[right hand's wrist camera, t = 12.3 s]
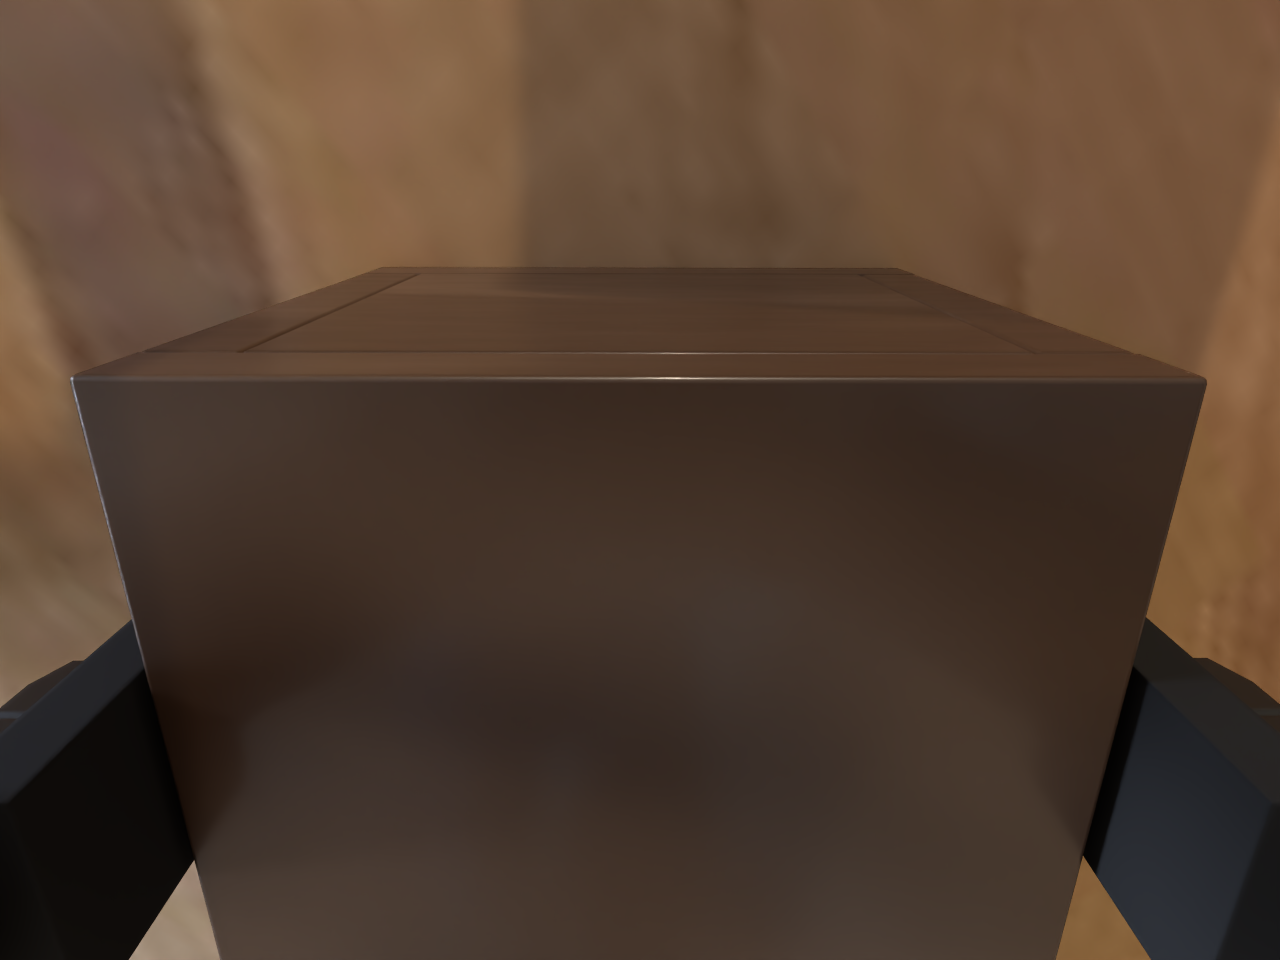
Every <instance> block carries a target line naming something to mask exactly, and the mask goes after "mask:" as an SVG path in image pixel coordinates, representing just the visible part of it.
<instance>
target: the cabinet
mask: <svg viewBox="0 0 1280 960" xmlns="http://www.w3.org/2000/svg"><path fill="white" fill-rule="evenodd" d="M70 384H71V388H72V391H73V395H74V399H75V403H76V407H77V411H78V414H79V418H80V422H81V426H82V430H83V434H84V438H85V441H86V445H87V449H88V453H89V457H90V461H91V464H92V468H93V472H94V476H95V480H96V484H97V487H98V491H99V495H100V499H101V503H102V507H103V510H104V514H105V518H106V522H107V526H108V530H109V534H110V537H111V541H112V545H113V549H114V553H115V557H116V560H117V564H118V568H119V572H120V576H121V580H122V583H123V587H124V591H125V595H126V599H127V603H128V607H129V610H130V614H131V618H132V622H133V626H134V630H135V633H136V637H137V641H138V645H139V649H140V653H141V656H142V660H143V664H144V668H145V672H146V676H147V680H148V683H149V687H150V691H151V695H152V699H153V703H154V706H155V710H156V714H157V718H158V722H159V726H160V729H161V733H162V737H163V741H164V745H165V749H166V753H167V756H168V760H169V764H170V768H171V772H172V776H173V779H174V783H175V787H176V791H177V795H178V799H179V802H180V806H181V810H182V814H183V818H184V822H185V825H186V829H187V833H188V837H189V841H190V845H191V849H192V852H193V856H194V860H195V864H196V868H197V872H198V875H199V879H200V883H201V887H202V891H203V895H204V898H205V902H206V906H207V910H208V914H209V918H210V922H211V925H212V929H213V933H214V937H215V941H216V945H217V948H218V952H219V956H220V960H1056V956H1057V952H1058V948H1059V944H1060V941H1061V937H1062V933H1063V929H1064V925H1065V922H1066V918H1067V914H1068V910H1069V906H1070V903H1071V899H1072V895H1073V891H1074V887H1075V884H1076V880H1077V876H1078V872H1079V868H1080V865H1081V861H1082V857H1083V853H1084V849H1085V846H1086V842H1087V838H1088V834H1089V830H1090V827H1091V823H1092V819H1093V815H1094V811H1095V808H1096V804H1097V800H1098V796H1099V792H1100V789H1101V785H1102V781H1103V777H1104V773H1105V770H1106V766H1107V762H1108V758H1109V754H1110V751H1111V747H1112V743H1113V739H1114V735H1115V732H1116V728H1117V724H1118V720H1119V716H1120V713H1121V709H1122V705H1123V701H1124V697H1125V694H1126V690H1127V686H1128V682H1129V678H1130V675H1131V671H1132V667H1133V663H1134V659H1135V656H1136V652H1137V648H1138V644H1139V640H1140V637H1141V633H1142V629H1143V625H1144V621H1145V618H1146V614H1147V610H1148V606H1149V602H1150V599H1151V595H1152V591H1153V587H1154V583H1155V580H1156V576H1157V572H1158V568H1159V564H1160V561H1161V557H1162V553H1163V549H1164V545H1165V542H1166V538H1167V534H1168V530H1169V526H1170V523H1171V519H1172V515H1173V511H1174V507H1175V504H1176V500H1177V496H1178V492H1179V488H1180V485H1181V481H1182V477H1183V473H1184V469H1185V466H1186V462H1187V458H1188V454H1189V450H1190V447H1191V443H1192V439H1193V435H1194V431H1195V428H1196V424H1197V420H1198V416H1199V412H1200V409H1201V405H1202V401H1203V397H1204V393H1205V390H1206V386H1207V381H1206V379H1205V378H1204V377H1201V376H1199V375H1196V374H1193V373H1190V372H1188V371H1185V370H1182V369H1179V368H1176V367H1173V366H1171V365H1168V364H1165V363H1162V362H1159V361H1157V360H1154V359H1151V358H1148V357H1145V356H1142V355H1140V354H1133V353H1131V352H1128V351H1126V350H1123V349H1120V348H1117V347H1115V346H1112V345H1109V344H1106V343H1103V342H1101V341H1098V340H1095V339H1092V338H1089V337H1087V336H1084V335H1081V334H1078V333H1075V332H1073V331H1070V330H1067V329H1064V328H1061V327H1058V326H1056V325H1053V324H1050V323H1047V322H1044V321H1042V320H1039V319H1036V318H1033V317H1030V316H1028V315H1025V314H1022V313H1019V312H1016V311H1014V310H1011V309H1008V308H1005V307H1002V306H1000V305H997V304H994V303H991V302H988V301H986V300H983V299H980V298H977V297H974V296H971V295H969V294H966V293H963V292H960V291H957V290H955V289H952V288H949V287H946V286H943V285H941V284H938V283H935V282H932V281H929V280H927V279H924V278H921V277H918V276H915V275H914V274H912V273H909V272H906V271H903V270H900V269H897V268H440V267H381V268H379V269H376V270H373V271H370V272H367V273H365V274H362V275H359V276H356V277H354V278H351V279H348V280H345V281H342V282H339V283H336V284H334V285H331V286H328V287H325V288H322V289H319V290H316V291H314V292H311V293H308V294H305V295H302V296H299V297H296V298H293V299H291V300H288V301H285V302H282V303H279V304H276V305H273V306H271V307H268V308H265V309H262V310H259V311H256V312H253V313H250V314H248V315H245V316H242V317H239V318H236V319H233V320H230V321H228V322H225V323H222V324H219V325H216V326H213V327H210V328H207V329H205V330H202V331H199V332H196V333H193V334H190V335H187V336H185V337H182V338H179V339H176V340H173V341H170V342H167V343H164V344H162V345H159V346H156V347H153V348H150V349H147V350H145V351H143V352H138V353H135V354H132V355H129V356H126V357H123V358H121V359H118V360H115V361H112V362H109V363H106V364H103V365H101V366H98V367H95V368H92V369H89V370H86V371H83V372H80V373H78V374H75V375H73V376H72V377H71V379H70Z"/></svg>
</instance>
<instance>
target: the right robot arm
mask: <svg viewBox="0 0 1280 960" xmlns="http://www.w3.org/2000/svg"><path fill="white" fill-rule="evenodd" d="M1083 856H1084V858H1085V859H1086V861H1087V862H1088V864H1089V865H1090V867H1091V868H1092V870H1093V871H1094V873H1095V874H1096V876H1097V877H1098V879H1099V881H1100V882H1101V884H1102V885H1103V887H1104V888H1105V890H1106V891H1107V893H1108V894H1109V896H1110V897H1111V899H1112V900H1113V902H1114V903H1115V905H1116V907H1117V908H1118V910H1119V911H1120V913H1121V914H1122V916H1123V917H1124V919H1125V920H1126V922H1127V923H1128V925H1129V926H1130V928H1131V929H1132V931H1133V932H1134V934H1135V936H1136V937H1137V939H1138V940H1139V942H1140V943H1141V945H1142V946H1143V948H1144V949H1145V951H1146V952H1147V954H1148V955H1149V957H1150V958H1151V960H1280V704H1279V703H1278V702H1276V701H1275V700H1274V699H1273V698H1271V697H1270V696H1269V695H1268V694H1267V693H1265V692H1264V691H1263V690H1262V689H1260V688H1259V687H1258V686H1257V685H1256V684H1254V683H1253V682H1252V681H1250V680H1248V679H1246V678H1244V677H1242V676H1240V675H1238V674H1237V673H1235V672H1233V671H1231V670H1229V669H1227V668H1225V667H1223V666H1221V665H1220V664H1218V663H1216V662H1214V661H1212V660H1210V659H1208V658H1192V657H1191V656H1190V655H1189V654H1188V653H1187V652H1185V651H1184V650H1183V649H1182V648H1181V647H1180V646H1178V645H1177V644H1176V643H1175V642H1174V641H1173V640H1172V639H1170V638H1169V637H1168V636H1167V635H1166V634H1165V633H1163V632H1162V631H1161V630H1160V629H1159V628H1158V627H1157V626H1155V625H1154V624H1153V623H1152V622H1151V621H1150V620H1149V619H1147V618H1145V621H1144V625H1143V629H1142V633H1141V637H1140V640H1139V644H1138V648H1137V652H1136V656H1135V659H1134V663H1133V667H1132V671H1131V675H1130V678H1129V682H1128V686H1127V690H1126V694H1125V697H1124V701H1123V705H1122V709H1121V713H1120V716H1119V720H1118V724H1117V728H1116V732H1115V735H1114V739H1113V743H1112V747H1111V751H1110V754H1109V758H1108V762H1107V766H1106V770H1105V773H1104V777H1103V781H1102V785H1101V789H1100V792H1099V796H1098V800H1097V804H1096V808H1095V811H1094V815H1093V819H1092V823H1091V827H1090V830H1089V834H1088V838H1087V842H1086V846H1085V849H1084V853H1083ZM193 861H194V856H193V852H192V849H191V845H190V841H189V837H188V833H187V829H186V825H185V822H184V818H183V814H182V810H181V806H180V802H179V799H178V795H177V791H176V787H175V783H174V779H173V776H172V772H171V768H170V764H169V760H168V756H167V753H166V749H165V745H164V741H163V737H162V733H161V729H160V726H159V722H158V718H157V714H156V710H155V706H154V703H153V699H152V695H151V691H150V687H149V683H148V680H147V676H146V672H145V668H144V664H143V660H142V656H141V653H140V649H139V645H138V641H137V637H136V633H135V630H134V626H133V622H132V619H131V620H130V621H129V622H128V623H127V624H126V625H125V626H123V627H122V628H121V629H120V630H119V631H118V632H116V633H115V634H114V635H113V636H112V637H111V638H110V639H108V640H107V641H106V642H105V643H104V644H103V645H101V646H100V647H99V648H98V649H97V650H96V651H95V652H93V653H92V654H91V655H90V656H89V657H88V658H86V659H85V660H84V661H72V662H70V663H68V664H66V665H65V666H63V667H61V668H59V669H57V670H55V671H53V672H51V673H50V674H48V675H46V676H44V677H42V678H40V679H38V680H36V681H35V682H33V683H31V684H29V685H28V686H26V687H25V688H24V689H23V690H21V691H20V692H19V693H18V694H17V695H15V696H14V697H13V698H12V699H11V700H9V701H8V702H7V703H6V704H5V705H3V706H2V707H1V708H0V960H129V958H130V957H131V955H132V954H133V952H134V951H135V949H136V948H137V946H138V945H139V943H140V942H141V940H142V939H143V937H144V935H145V934H146V932H147V931H148V929H149V928H150V926H151V925H152V923H153V922H154V920H155V919H156V917H157V916H158V914H159V913H160V911H161V910H162V908H163V906H164V905H165V903H166V902H167V900H168V899H169V897H170V896H171V894H172V893H173V891H174V890H175V888H176V887H177V885H178V884H179V882H180V880H181V879H182V877H183V876H184V874H185V873H186V871H187V870H188V868H189V867H190V865H191V864H192V862H193Z"/></svg>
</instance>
